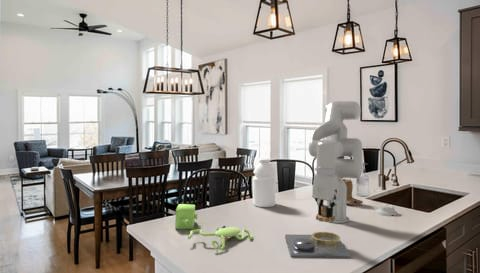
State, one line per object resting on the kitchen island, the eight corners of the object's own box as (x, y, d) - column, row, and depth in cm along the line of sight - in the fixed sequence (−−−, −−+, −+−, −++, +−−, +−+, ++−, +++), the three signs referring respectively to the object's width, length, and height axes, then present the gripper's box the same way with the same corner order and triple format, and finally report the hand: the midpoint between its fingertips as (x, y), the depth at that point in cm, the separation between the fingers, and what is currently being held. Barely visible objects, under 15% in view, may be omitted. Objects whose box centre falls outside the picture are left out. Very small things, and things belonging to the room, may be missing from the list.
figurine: (182, 244, 137) (182, 231, 137) (227, 229, 157) (227, 217, 156) (212, 257, 125) (212, 242, 124) (257, 238, 144) (257, 225, 144)
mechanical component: (400, 216, 176) (391, 211, 186) (400, 208, 176) (391, 203, 186) (382, 216, 176) (374, 211, 186) (382, 208, 176) (374, 203, 186)
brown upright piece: (331, 201, 208) (331, 178, 207) (346, 199, 212) (346, 176, 211) (347, 207, 194) (347, 182, 193) (363, 205, 198) (363, 180, 197)
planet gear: (314, 216, 140) (314, 204, 140) (332, 217, 140) (332, 204, 140) (318, 222, 133) (318, 208, 132) (336, 222, 132) (337, 208, 132)
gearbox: (195, 233, 152) (196, 213, 151) (173, 232, 151) (174, 212, 150) (198, 220, 169) (198, 202, 169) (178, 220, 169) (179, 201, 168)
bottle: (263, 200, 210) (263, 157, 209) (280, 204, 200) (280, 158, 199) (248, 204, 201) (247, 158, 200) (264, 208, 191) (264, 160, 189)
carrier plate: (285, 237, 143) (285, 229, 143) (336, 238, 143) (336, 230, 143) (290, 256, 124) (290, 247, 123) (349, 257, 123) (350, 248, 123)
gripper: (304, 170, 140) (304, 212, 141) (336, 175, 127) (336, 222, 127) (316, 168, 144) (316, 210, 145) (348, 173, 131) (348, 219, 132)
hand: (325, 215), depth 136 cm, fingers closed on planet gear, 3 cm apart
